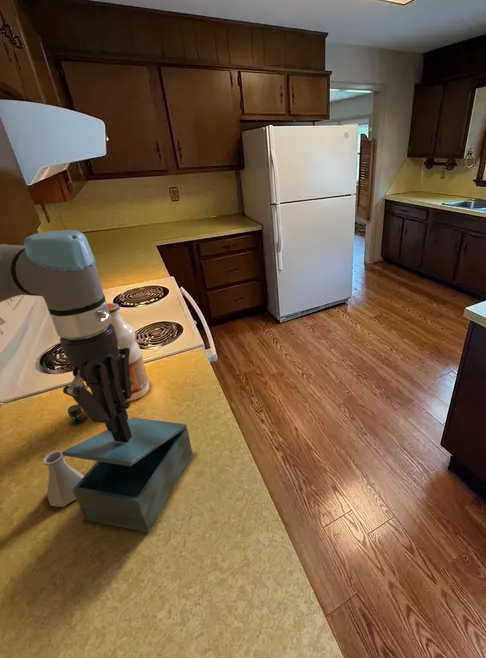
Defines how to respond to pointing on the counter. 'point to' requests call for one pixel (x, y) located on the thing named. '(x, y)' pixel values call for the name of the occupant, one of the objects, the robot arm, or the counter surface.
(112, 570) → the counter surface
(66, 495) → the flask
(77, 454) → the lid
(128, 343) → the fruit juice
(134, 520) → the chest
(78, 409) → the beer can
